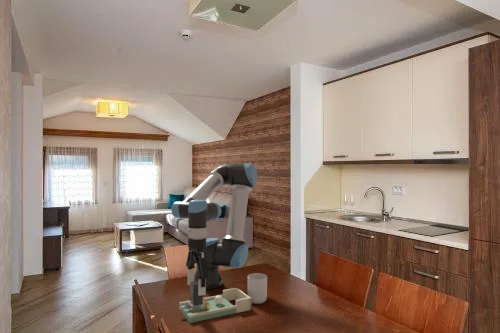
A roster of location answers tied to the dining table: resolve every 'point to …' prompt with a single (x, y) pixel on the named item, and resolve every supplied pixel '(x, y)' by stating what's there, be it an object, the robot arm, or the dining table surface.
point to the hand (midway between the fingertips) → (196, 289)
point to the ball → (218, 300)
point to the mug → (257, 288)
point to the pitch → (220, 306)
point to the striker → (195, 299)
